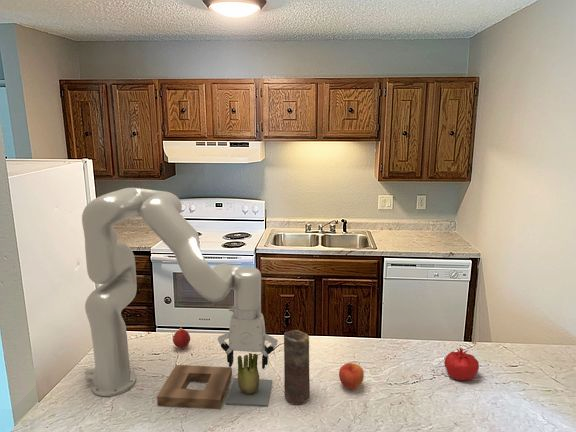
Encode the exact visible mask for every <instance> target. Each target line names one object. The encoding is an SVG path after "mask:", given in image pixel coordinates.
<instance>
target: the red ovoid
mask: <svg viewBox="0 0 576 432" xmlns="http://www.w3.org/2000/svg"><path fill="white" fill-rule="evenodd" d="M190 341H191V336H190V333H189V332H188V331H187V330H186V329H183V328H182V327H180V328H178V330H177V331H175V333H174V334H173V338H172V343H173V344H174V346H175V347H177V348H179V349H180V350H183V349H185V348H187V346H188V345H189V344H190Z"/></svg>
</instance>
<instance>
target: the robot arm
mask: <svg viewBox="0 0 576 432" xmlns="http://www.w3.org/2000/svg"><path fill="white" fill-rule="evenodd" d="M182 209H183V205H182V202H181V200H180V198H179V197H178V196H177V195H176V194H174V193H172V192H169V191H165V190H156V189H155V190H154V189H148V188H147V189H146V188H141V187H125V188H122V189H117V190H115V191H111V192H108V193H104V194H102V195H99V196H98V197H95V198H94V199H92V200H91V201H89V203H87V205H86V206H85V207H84V209H83V212H82V214H81V224H82V225H81V226H82V230H83V235H84V237H83V238H84V248H85V249H84V250H85V261H86V271H87V276H88V278H89V279H90V281H92V282H93V283H94V284H97V285H100V286H98V287H97V288H96V289H94V290H93V291H91V293H90V294H89V295H88V296H87V298H86V301H85V304H84V310H85V314H86V317H87V319H88V323H89V327H90V334H91V341H92V348H93V350H92V351H93V358H94V368H95V369H94V368H86V369H85V370H84V379H85V380H91V381H92V382H91V391H92V392H93V394H95V395H97V396H99V397H113V396H117V395H121V394H123V393H125V392H127V391H129V390H130V389H131V388H133V386H134V385H135V384H136V383H137V375H136V373H135V372H134V371H132V370H131V367H130V355H129V344H128V334H127V327H126V326H127V325H126V322H125V321H124V318H123V317H122V311H123V310H124V309H125V308H126V307H127V306H128V305H130V304H131V302H132V301H134V299H135V297H136V295H137V291H138V289H137V287H138V285H137V272H136V271H137V269H136V258H135V254H134V252H133V250H132V249H131V248H130V247H129V246H128V245H127V244H126V243H123V242H121V241H120V242H119V241H118V233H117V230H116V228H115V225H116V224H118V223H121V222H124V221H127V220H128V219H131V218H133V217H141V219H142V220H143V222H144V223H145V224H146V225H147V227H149V229H150V230H152V231H153V232H154V234H156V236H157V237H158V238H159V239H160V241H162V242H163V243H164V244H165V245H166V246H167V247H168V248H169V250H170V251H172V253H173V254H174V256H175V259H176V262H177V264H178V266H179V269H180V271H181V273H182V275H183V276H184V278H185V279H186V280H187V282H188V283H189V284H190V286H191V287H192V288H193V289H194V290H195V291H196V292H197V293H198V294H199V295H201V297H203V299H206V300H207V301H210V302H214V303H217V302H221V301H223V300H224V299H225V298H226V297H227V296H228V294H229V293H230V291H233V300H234V301H233V305H229V307H228V311H229V312H232V315H231V316H230V322H229V331H228V332H226V333H224V334H222V335H219V336H218V337H217V342H218V343H219V345H220V348H221V349H222V350H223V351H224V352H225V354H226V363H228V367H232V366H233V364H234V351H235V352H249V353H252V352H253V353H261V354H262V355H261V369H262V370H265V368H266V366H268V363H269V355H270V354H271V353H273V352H274V350H275V348H276V347H277V345H278V339H276V338H275V337H273V336H271V335H270V334H267V333H266V326H265V324H266V323H265V318H264V314H263V313H262V274H261V271H260V270H259V269H258V268H257V267H251V266H245V267H241V266H236V265H232V264H228V263H220V264H219V263H218V264H217V265H215V266H214V267H213V268H212V267H211V266H210V264H209V263H208V261H206V259H205V258H204V256H203V254H202V251H201V246H200V245H201V244H200V236H199V233H198V231H197V230H196V229H195V228H194V227H193V226H192V225H191V224H190V223H189V222H188V220H187V219H186V218H184V216H183V215H182V214H181V212H182ZM225 340H228V343H227V342H226V341H225ZM266 342H268V343H269V344H270V345H269V346H268V345H266Z"/></svg>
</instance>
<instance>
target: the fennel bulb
mask: <svg viewBox="0 0 576 432" xmlns="http://www.w3.org/2000/svg"><path fill="white" fill-rule="evenodd" d="M258 356H259V355H258V353H252V352H249V353H248V354H244V356H243V358H242V355H239V356H237V378H238V385H239V388H240V390H241V391H242V392H244V393H246V394H253V393H255V392H256V391H257V389H258V387H259V379H260V373H259V368H258Z"/></svg>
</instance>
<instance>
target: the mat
mask: <svg viewBox="0 0 576 432" xmlns="http://www.w3.org/2000/svg"><path fill="white" fill-rule="evenodd" d="M272 386H273V379H264V378H263V379H262V378H259V387H258V389H257V391H256V392H255V393H253V394H246V393H244V392H242V391H241V390H240V388H239V385H238V377H234V378H233V380H232V382H231V386H230V388H229V392H228V394H227V397H226V400H225V405H226V406H243V407H259V408H260V407H262V408H264V407H265V408H268V405H269V400H270V395H271V391H272Z"/></svg>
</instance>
